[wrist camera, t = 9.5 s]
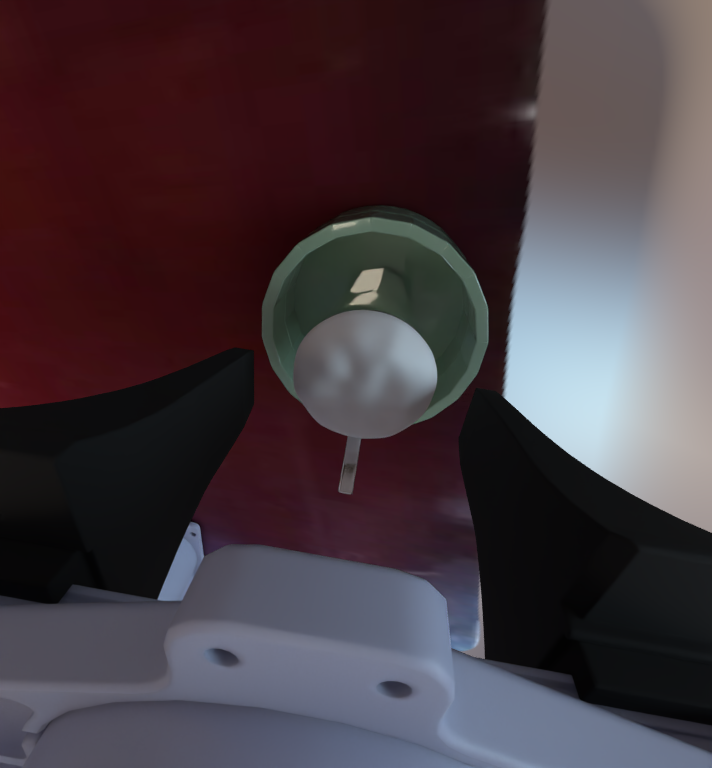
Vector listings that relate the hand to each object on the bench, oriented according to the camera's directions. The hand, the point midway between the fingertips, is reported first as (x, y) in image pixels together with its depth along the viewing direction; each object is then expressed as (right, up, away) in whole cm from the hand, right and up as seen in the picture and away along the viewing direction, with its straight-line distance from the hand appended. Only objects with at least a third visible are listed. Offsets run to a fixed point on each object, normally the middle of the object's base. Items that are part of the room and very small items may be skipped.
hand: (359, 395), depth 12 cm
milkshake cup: (+1, +4, +7) cm, 8 cm away
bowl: (+1, +4, +7) cm, 9 cm away
